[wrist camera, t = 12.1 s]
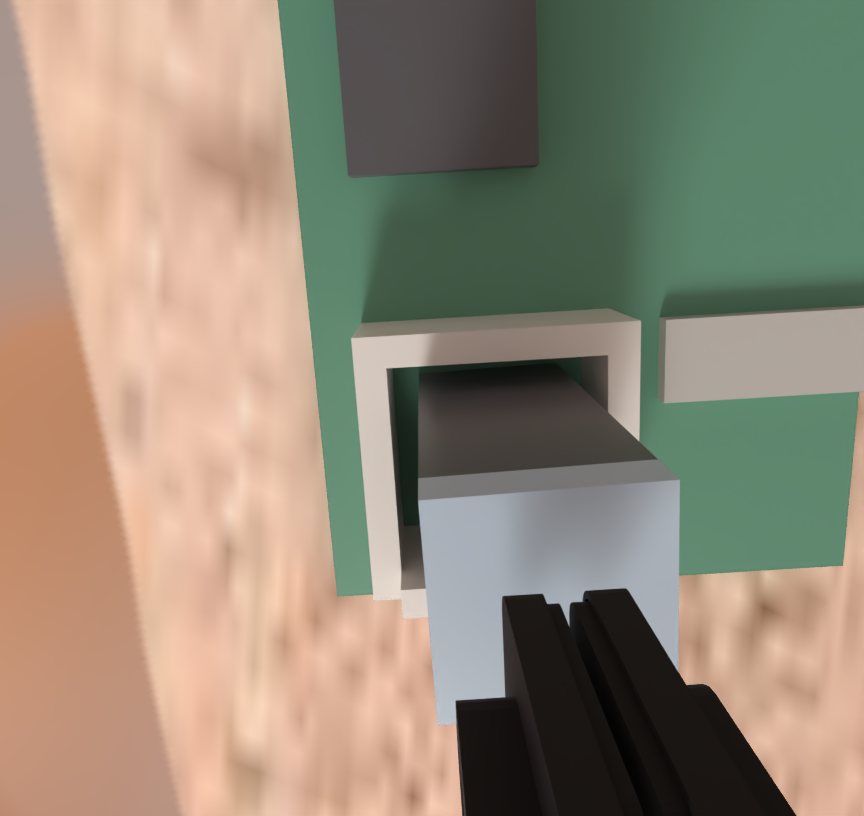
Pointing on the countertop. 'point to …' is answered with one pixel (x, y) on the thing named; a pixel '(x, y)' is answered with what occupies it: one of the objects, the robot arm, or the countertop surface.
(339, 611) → the countertop surface
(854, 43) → the board
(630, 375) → the frame
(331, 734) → the countertop surface
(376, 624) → the countertop surface
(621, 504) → the plug
